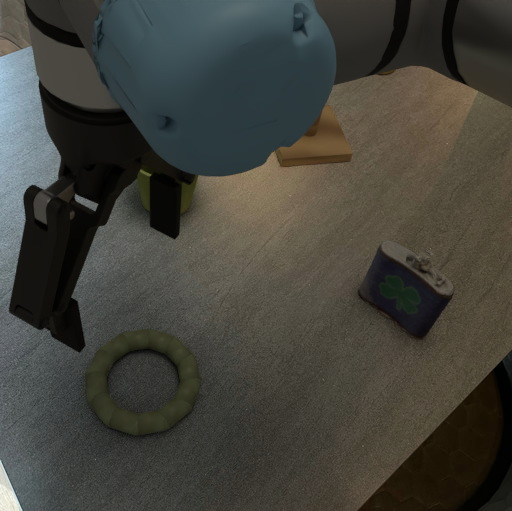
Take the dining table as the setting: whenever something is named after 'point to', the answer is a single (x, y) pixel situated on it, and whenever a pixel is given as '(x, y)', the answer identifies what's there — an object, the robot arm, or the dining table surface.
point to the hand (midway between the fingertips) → (120, 282)
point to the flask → (406, 288)
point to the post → (318, 143)
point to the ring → (147, 420)
